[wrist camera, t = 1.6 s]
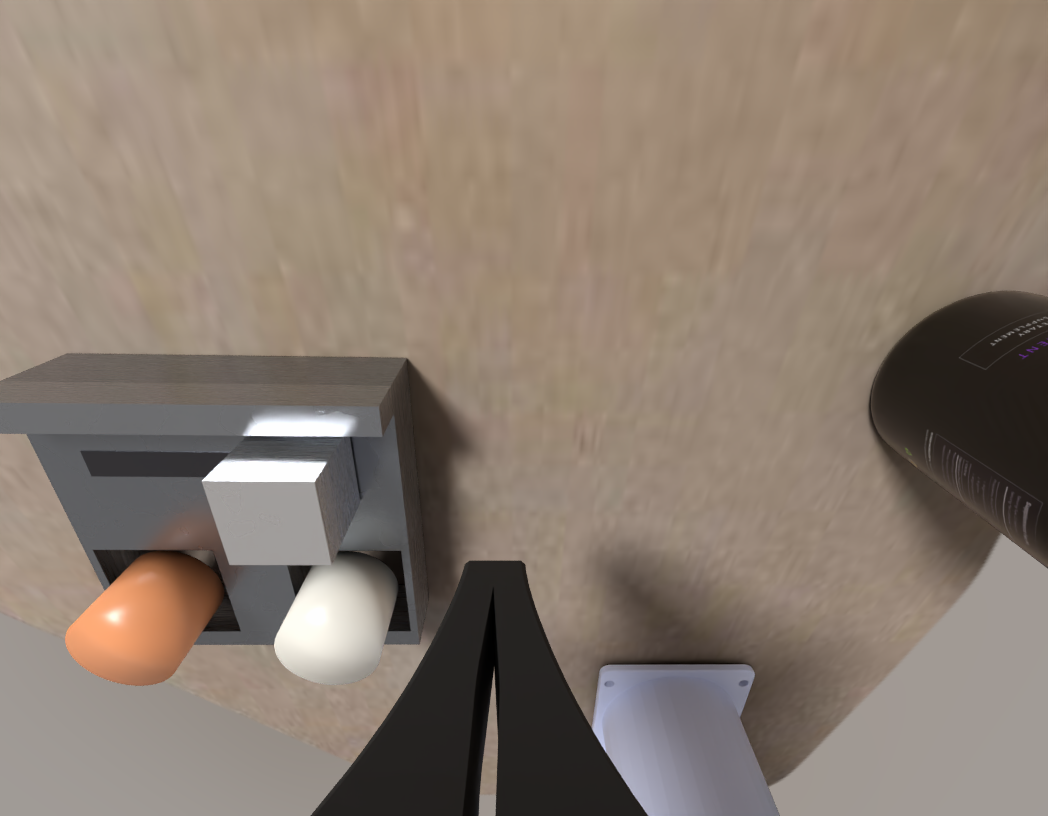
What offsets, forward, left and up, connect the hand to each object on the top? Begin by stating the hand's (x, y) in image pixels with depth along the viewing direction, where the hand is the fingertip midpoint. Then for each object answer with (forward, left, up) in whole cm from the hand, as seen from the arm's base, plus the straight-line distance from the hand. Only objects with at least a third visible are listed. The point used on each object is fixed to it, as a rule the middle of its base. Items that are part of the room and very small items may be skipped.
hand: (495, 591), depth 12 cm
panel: (-3, +9, -8) cm, 13 cm away
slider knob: (0, +6, -5) cm, 8 cm away
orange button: (-6, +13, -6) cm, 16 cm away
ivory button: (-6, +6, -6) cm, 10 cm away
